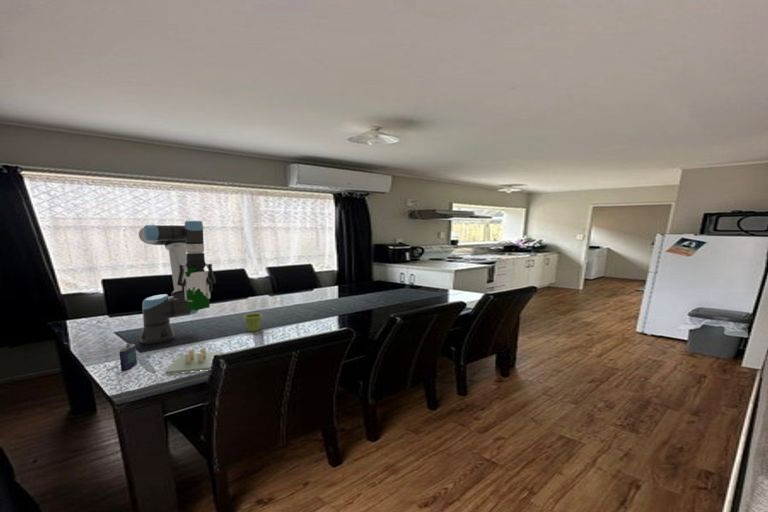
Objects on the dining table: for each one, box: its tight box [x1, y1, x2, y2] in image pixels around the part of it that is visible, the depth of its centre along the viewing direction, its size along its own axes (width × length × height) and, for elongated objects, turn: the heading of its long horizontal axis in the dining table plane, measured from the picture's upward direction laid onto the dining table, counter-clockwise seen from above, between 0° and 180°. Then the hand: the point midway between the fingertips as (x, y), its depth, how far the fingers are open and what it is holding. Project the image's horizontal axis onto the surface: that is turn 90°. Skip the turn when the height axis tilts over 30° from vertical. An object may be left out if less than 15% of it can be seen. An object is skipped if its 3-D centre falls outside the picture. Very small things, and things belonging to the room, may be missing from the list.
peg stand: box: [165, 348, 223, 375], centre depth 151 cm, size 18×18×6 cm
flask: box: [118, 343, 138, 372], centre depth 147 cm, size 9×3×11 cm, turn 8°
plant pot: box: [244, 313, 263, 333], centre depth 198 cm, size 9×9×9 cm
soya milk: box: [184, 268, 210, 311], centre depth 164 cm, size 9×9×20 cm
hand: (197, 298), depth 165 cm, fingers closed on soya milk, 9 cm apart
